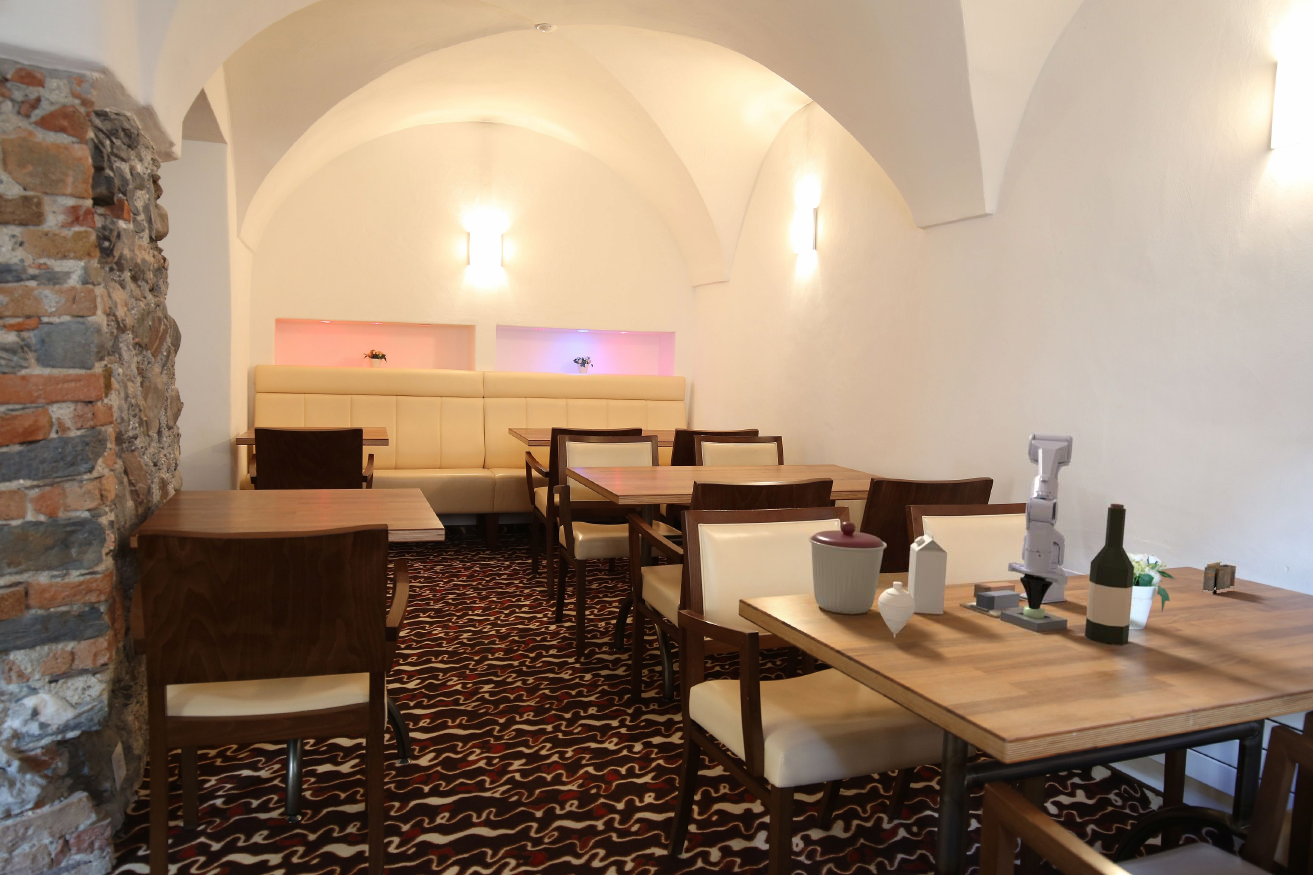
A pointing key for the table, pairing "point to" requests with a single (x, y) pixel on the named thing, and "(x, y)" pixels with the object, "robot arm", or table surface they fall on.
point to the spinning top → (896, 607)
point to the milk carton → (927, 575)
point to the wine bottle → (1110, 585)
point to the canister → (846, 569)
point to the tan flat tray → (991, 613)
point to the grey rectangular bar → (998, 599)
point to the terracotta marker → (993, 587)
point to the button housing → (1033, 621)
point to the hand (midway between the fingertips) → (1034, 608)
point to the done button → (1034, 613)
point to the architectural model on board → (1218, 576)
